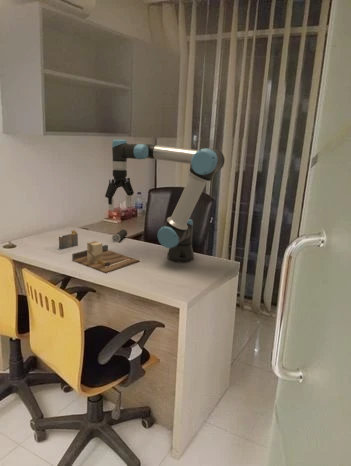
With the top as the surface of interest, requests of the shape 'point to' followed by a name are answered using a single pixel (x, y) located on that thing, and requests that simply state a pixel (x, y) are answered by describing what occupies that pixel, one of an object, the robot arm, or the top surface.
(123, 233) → the flashlight
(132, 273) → the top surface
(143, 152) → the robot arm
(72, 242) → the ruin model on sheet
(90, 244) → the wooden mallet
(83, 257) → the board
